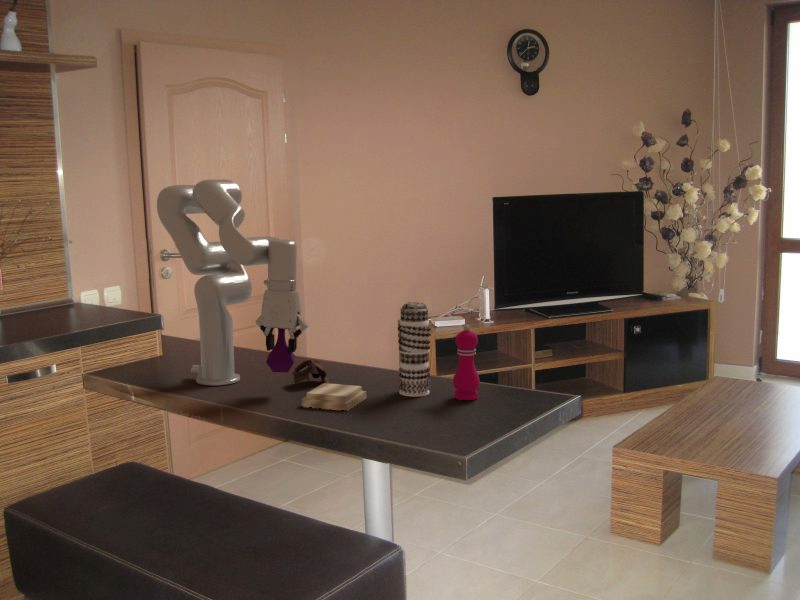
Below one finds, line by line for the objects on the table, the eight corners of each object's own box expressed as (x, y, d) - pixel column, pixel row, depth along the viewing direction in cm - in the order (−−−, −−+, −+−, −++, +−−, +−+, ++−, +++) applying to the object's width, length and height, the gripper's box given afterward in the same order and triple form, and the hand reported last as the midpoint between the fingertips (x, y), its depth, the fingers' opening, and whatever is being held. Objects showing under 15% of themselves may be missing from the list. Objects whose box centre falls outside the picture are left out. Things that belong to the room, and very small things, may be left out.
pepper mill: (482, 395, 212) (483, 323, 209) (476, 402, 205) (476, 327, 202) (456, 393, 214) (457, 322, 211) (449, 400, 207) (450, 326, 204)
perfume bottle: (268, 366, 217) (268, 303, 214) (295, 367, 217) (296, 303, 214) (265, 373, 209) (266, 308, 206) (293, 374, 210) (294, 308, 207)
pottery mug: (329, 390, 220) (314, 366, 218) (300, 403, 223) (285, 380, 220) (334, 370, 231) (320, 347, 229) (307, 382, 234) (293, 360, 231)
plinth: (301, 406, 201) (301, 393, 201) (322, 394, 214) (322, 381, 213) (348, 411, 197) (347, 397, 197) (366, 398, 210) (366, 385, 209)
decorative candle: (392, 395, 212) (392, 304, 209) (404, 387, 221) (404, 300, 217) (424, 398, 209) (424, 306, 206) (435, 390, 218) (435, 301, 214)
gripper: (246, 284, 208) (246, 350, 211) (305, 290, 203) (303, 357, 206) (260, 281, 215) (259, 344, 219) (317, 286, 210) (315, 351, 213)
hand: (281, 350), depth 212 cm, fingers closed on perfume bottle, 5 cm apart
